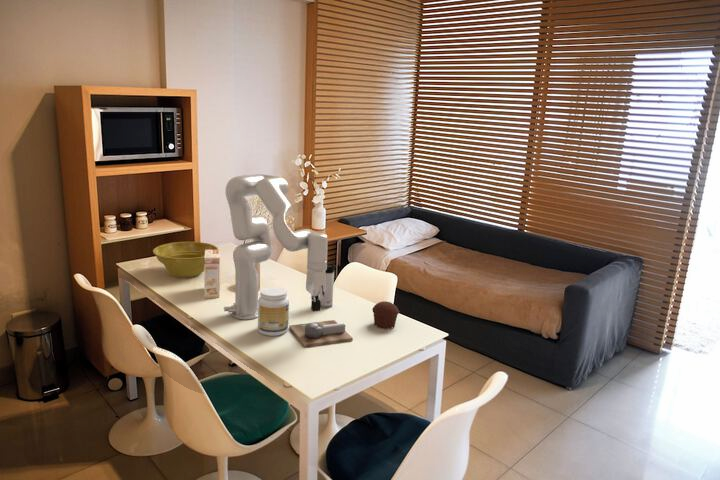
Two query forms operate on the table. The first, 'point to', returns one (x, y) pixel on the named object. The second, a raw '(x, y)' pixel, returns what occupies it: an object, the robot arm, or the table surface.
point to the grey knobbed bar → (322, 329)
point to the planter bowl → (183, 257)
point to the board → (325, 339)
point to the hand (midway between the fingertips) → (315, 310)
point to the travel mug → (328, 287)
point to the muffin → (385, 315)
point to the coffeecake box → (212, 274)
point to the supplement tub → (273, 311)
